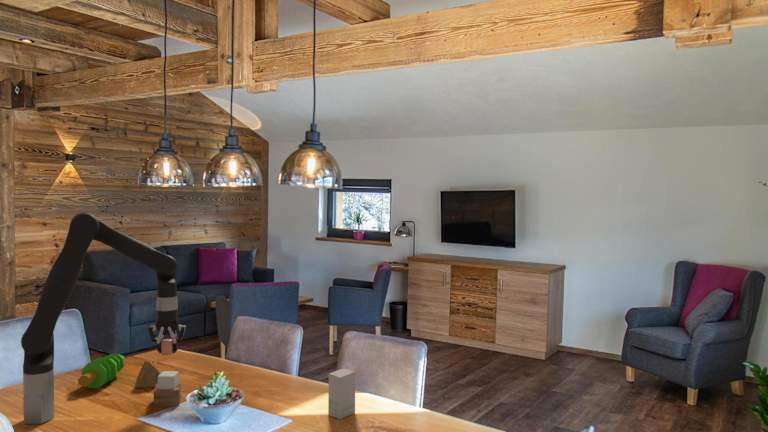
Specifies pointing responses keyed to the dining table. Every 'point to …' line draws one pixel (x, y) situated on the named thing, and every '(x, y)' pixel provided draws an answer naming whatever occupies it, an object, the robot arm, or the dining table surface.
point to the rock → (147, 376)
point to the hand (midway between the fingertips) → (167, 352)
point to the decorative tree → (101, 371)
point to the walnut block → (167, 396)
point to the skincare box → (341, 393)
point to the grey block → (168, 380)
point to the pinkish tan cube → (167, 347)
